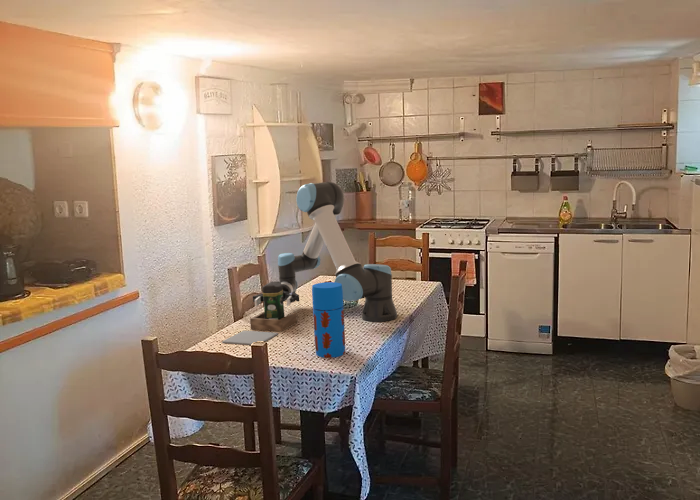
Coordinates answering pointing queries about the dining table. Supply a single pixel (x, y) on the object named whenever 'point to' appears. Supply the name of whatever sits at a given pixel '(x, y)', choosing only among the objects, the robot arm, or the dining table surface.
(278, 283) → the coffee jar
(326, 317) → the thermos
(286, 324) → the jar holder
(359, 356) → the dining table surface
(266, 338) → the slate mat
